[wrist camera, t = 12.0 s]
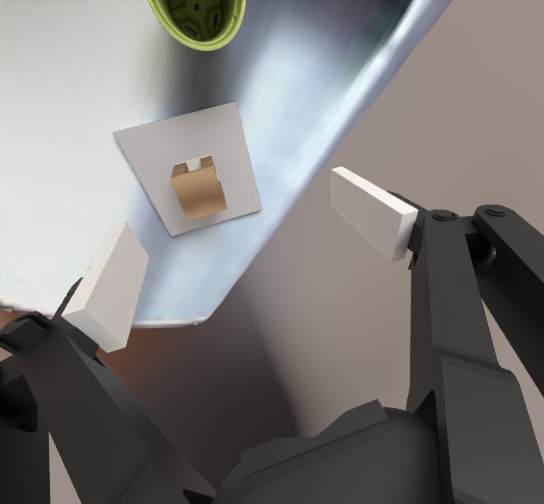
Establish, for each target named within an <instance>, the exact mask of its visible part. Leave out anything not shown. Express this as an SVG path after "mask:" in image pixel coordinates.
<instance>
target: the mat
mask: <svg viewBox="0 0 544 504" xmlns="http://www.w3.org/2000/svg"><path fill="white" fill-rule="evenodd" d="M113 134H114V136H115V138H116V140H117V141H118V143H119V145H120V147H121V149H122V150H123V152H124V154H125V156H126V157H127V159H128V161H129V163H130V164H131V166H132V168H133V170H134V171H135V173H136V175H137V177H138V178H139V180H140V182H141V184H142V186H143V187H144V189H145V191H146V193H147V194H148V196H149V198H150V200H151V201H152V203H153V205H154V207H155V208H156V210H157V212H158V214H159V215H160V217H161V219H162V221H163V223H164V224H165V226H166V228H167V230H168V231H169V233H170V235H171V237H172V236H175V235H178V234H182V233H185V232H188V231H192V230H195V229H198V228H202V227H205V226H208V225H212V224H215V223H218V222H222V221H225V220H229V219H232V218H235V217H239V216H242V215H245V214H249V213H252V212H255V211H259V210H262V207H261V203H260V199H259V194H258V190H257V186H256V182H255V178H254V174H253V169H252V165H251V161H250V157H249V153H248V149H247V144H246V140H245V136H244V132H243V128H242V124H241V119H240V115H239V111H238V107H237V103H236V101H235V102H231V103H227V104H223V105H219V106H215V107H211V108H207V109H203V110H199V111H195V112H191V113H187V114H183V115H179V116H175V117H171V118H167V119H163V120H159V121H155V122H151V123H147V124H143V125H139V126H135V127H131V128H127V129H123V130H119V131H115V132H113ZM207 156H212V159H213V162H214V165H215V169H216V173H217V178H218V181H220V183H221V186H222V189H223V192H224V196H225V200H226V204H227V208H228V209H226V210H222V211H219V212H215V213H212V214H209V215H205V216H202V217H198V218H195V219H191V220H188V219H187V217H186V215H185V213H184V211H183V208H182V206H181V204H180V202H179V200H178V198H177V196H176V194H175V192H174V190H173V188H172V185H171V183H170V178H171V175H172V172H173V168H174V165H177V164H181V163H185V162H186V164H187V167H188V169H189V172H190V171H194V170H197V169H201V161H200V158H203V157H207Z"/></svg>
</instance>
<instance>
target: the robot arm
mask: <svg viewBox="0 0 544 504" xmlns="http://www.w3.org/2000/svg"><path fill="white" fill-rule="evenodd" d="M331 207H332V208H333V209H334V210H335V211H336V212H337V213H338V214H339V215H340V216H342V217H343V218H344V219H345V220H346V221H347V222H348V223H349V224H350V225H351V226H352V227H354V228H355V229H356V230H357V231H358V232H359V233H360V234H361V235H362V236H363V237H364V238H366V239H367V240H368V241H369V242H370V243H371V244H372V245H373V246H374V247H375V248H376V249H378V250H379V251H380V252H381V253H382V254H383V255H384V256H385V257H386V258H387V259H388V260H390V261H391V262H393V261H396V260H399V259H402V258H405V255H406V252H407V248H408V249H410V250H411V251H412V252H413V255H412V258H411V262H410V265H409V268H408V269H409V270H411V337H410V339H411V340H410V345H411V346H410V388H409V394H408V399H407V405H406V411H405V410H401V409H397V408H390V407H382V406H381V404H380V403H379V401H378V399H376V400H374V401H371V402H369V403H366V404H363V405H361V406H358V407H356V408H353V409H351V410H348V411H346V412H345V413H343V414H342V415H341V416H340V417H339V418H338V419H336V420H335V421H334V422H333V423H332V424H331V425H329V426H328V427H327V428H326V429H325V430H324V431H322V432H321V433H320V434H319V435H317V436H315V437H301V438H279V439H274V440H272V441H269V442H267V443H264V444H261V445H259V446H256V447H254V448H251V449H249V450H246V451H243V452H241V455H242V463H241V464H239V465H238V466H237V467H236V468H235V469H234V470H233V471H232V472H231V473H230V475H229V476H228V477H227V478H226V480H225V481H224V483H223V484H222V485H221V487H220V489H219V490H218V492H216V491H215V490H214V489H213V488H212V487H211V485H209V483H208V482H207V481H206V480H204V479H203V478H202V477H201V476H200V475H198V474H197V473H196V472H195V471H194V469H193V468H192V467H191V466H190V465H189V464H188V462H187V461H186V460H185V459H184V458H183V456H182V455H181V454H180V453H179V452H178V450H177V449H176V448H175V447H174V446H173V444H172V443H171V442H170V441H169V440H168V439H167V437H166V436H165V435H164V434H163V432H161V430H160V429H159V428H158V426H157V425H156V424H155V423H154V422H153V420H152V419H151V418H150V417H149V416H148V414H147V413H146V412H145V411H144V410H143V408H142V407H141V406H140V405H139V404H138V402H137V401H136V400H135V399H134V398H133V396H132V395H131V394H130V393H129V392H128V391H127V389H126V388H125V387H124V386H123V385H122V383H121V382H120V381H119V380H118V378H117V377H116V376H115V375H114V374H113V372H112V371H111V370H110V369H109V368H108V367H107V365H106V364H105V363H104V362H103V360H102V359H101V358H99V357H98V356H97V355H96V352H97V350H98V347H99V346H100V347H101V348H102V349H103V350H105V351H106V352H107V353H109V352H112V351H115V350H118V349H121V348H124V347H126V343H127V339H128V336H129V332H130V328H131V324H132V321H133V317H134V313H135V310H136V306H137V302H138V298H139V295H140V291H141V287H142V284H143V280H144V276H145V272H146V269H147V265H148V261H149V256H148V254H147V253H146V251H145V250H144V248H143V247H142V245H141V244H140V242H139V241H138V239H137V238H136V236H135V235H134V233H133V231H132V230H131V228H130V227H129V225H128V224H127V223H123V224H119V225H115V226H113V227H112V229H111V231H110V232H109V234H108V236H107V238H106V239H105V241H104V243H103V244H102V246H101V248H100V250H99V251H98V253H97V255H96V256H95V258H94V260H93V262H92V263H91V265H90V267H89V269H88V270H87V272H86V274H85V275H84V277H82V278H80V279H79V280H78V281H77V282H76V283H75V284H74V285H73V286H72V287H71V289H70V290H69V292H68V293H67V296H66V297H65V298H64V300H63V303H62V304H61V305H60V306H59V308H58V310H57V311H56V313H55V315H54V316H53V318H52V320H51V321H50V320H49V319H48V318H46V317H45V316H44V315H42V314H41V313H39V312H37V311H34V312H29V313H26V314H23V315H21V316H19V317H17V318H15V319H14V320H12V321H11V322H9V323H8V324H7V325H5V326H4V327H3V328H2V329H1V330H0V347H1V348H3V349H4V350H6V351H8V352H10V353H12V354H14V355H12V356H10V357H8V358H6V359H4V360H3V361H1V362H0V504H50V472H49V432H50V434H51V436H52V439H53V441H54V443H55V445H56V448H57V450H58V452H59V454H60V457H61V459H62V461H63V463H64V466H65V468H66V470H67V472H68V474H69V477H70V479H71V481H72V483H73V486H74V488H75V490H76V492H77V495H78V497H79V499H80V501H81V503H82V504H544V463H543V460H542V457H541V453H540V450H539V447H538V444H537V440H536V437H535V434H534V431H533V427H532V424H531V421H530V418H529V414H528V411H527V408H526V404H525V401H524V398H523V394H522V391H521V388H520V385H519V383H518V381H517V379H516V377H515V375H514V374H513V373H512V372H511V371H510V370H506V369H503V368H501V366H500V365H499V363H498V361H497V358H496V354H495V350H494V346H493V342H492V338H491V334H490V330H489V326H488V323H487V319H486V315H485V311H484V307H483V304H482V300H481V298H482V299H483V301H484V303H485V305H486V306H487V308H488V309H489V311H490V313H491V314H492V316H493V317H494V319H495V321H496V322H497V324H498V325H499V327H500V329H501V330H502V332H503V333H504V335H505V337H506V338H507V340H508V341H509V343H510V345H511V346H512V348H513V349H514V351H515V352H516V354H517V356H518V357H519V359H520V361H521V362H522V364H523V365H524V367H525V369H526V370H527V372H528V373H529V375H530V377H531V378H532V380H533V381H534V383H535V385H536V386H537V388H538V389H539V391H540V392H541V394H542V396H543V397H544V236H543V235H542V234H541V233H539V232H538V231H537V230H536V229H535V228H534V227H532V226H531V225H530V224H529V223H528V222H526V221H525V220H524V219H523V218H522V217H520V216H519V215H518V214H517V213H516V212H515V211H513V210H511V209H509V208H506V207H504V206H501V205H499V206H498V205H482V206H479V207H478V208H477V209H476V211H475V213H474V216H467V217H459V216H458V215H457V214H455V213H454V212H450V211H448V210H431V211H428V210H426V209H424V208H422V207H421V206H419V205H417V204H415V203H413V202H410V200H408V199H406V198H404V197H402V196H401V195H399V194H397V193H393V192H389V191H387V192H386V191H384V190H382V189H381V188H379V187H377V186H375V185H374V184H372V183H370V182H368V181H367V180H365V179H363V178H361V177H359V176H358V175H356V174H354V173H352V172H351V171H349V170H347V169H345V168H344V167H338V168H334V169H331ZM495 251H496V255H495V254H494V253H495Z"/></svg>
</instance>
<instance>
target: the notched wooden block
mask: <svg viewBox="0 0 544 504" xmlns="http://www.w3.org/2000/svg"><path fill="white" fill-rule="evenodd" d="M200 161H201V169H197V170H194V171H190V172H189V169H188V167H187V164H186V162H185V163H181V164H177V165H174V168H173V172H172V175H171V178H170V183H171V185H172V188H173V190H174V192H175V194H176V196H177V198H178V200H179V202H180V204H181V206H182V208H183V211H184V213H185V215H186V217H187V219H188V220H191V219H195V218H198V217H202V216H205V215H209V214H212V213H215V212H219V211H222V210H226V209H228V208H227V204H226V200H225V196H224V192H223V189H222V186H221V183H220V181H218V178H217V173H216V169H215V165H214V162H213V159H212V156H207V157H203V158H200Z"/></svg>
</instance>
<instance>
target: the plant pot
mask: <svg viewBox="0 0 544 504" xmlns="http://www.w3.org/2000/svg"><path fill="white" fill-rule="evenodd" d="M148 2H149V4H150V6H151V9H152V10H153V12H154V14H155V16H156V17H157V19H158V20H159V22H160V23H161V24H162V26H163V27H164V28H165V29H166V30H167V32H168V33H169V34H171V35H172V36H173V37H174V38H175V39H176V40H178V41H179V42H180V43H182V44H184V45H186V46H188V47H190V48H193V49H196V50H200V51H213V50H217V49H219V48H221V47H223V46H225V45H226V44H228V43H229V42H230V41H231V40H232V39H233V37H234V36H235V35H236V33H237V31H238V29H239V27H240V25H241V22H242V20H243V16H244V12H245V5H246V0H177V2H175V0H148ZM195 4H197V5H198V6H199V9H198V10H196V9H195ZM216 14H217V15H218V20H217V24H216V26H215V27H213V23H214V20H215V16H216ZM186 26H188V27H189V28H190V29H191V30H193V31H195V32H196V33H197V35H193V34H192V33H190V32H189V31H188V30H187V29H186Z"/></svg>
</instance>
